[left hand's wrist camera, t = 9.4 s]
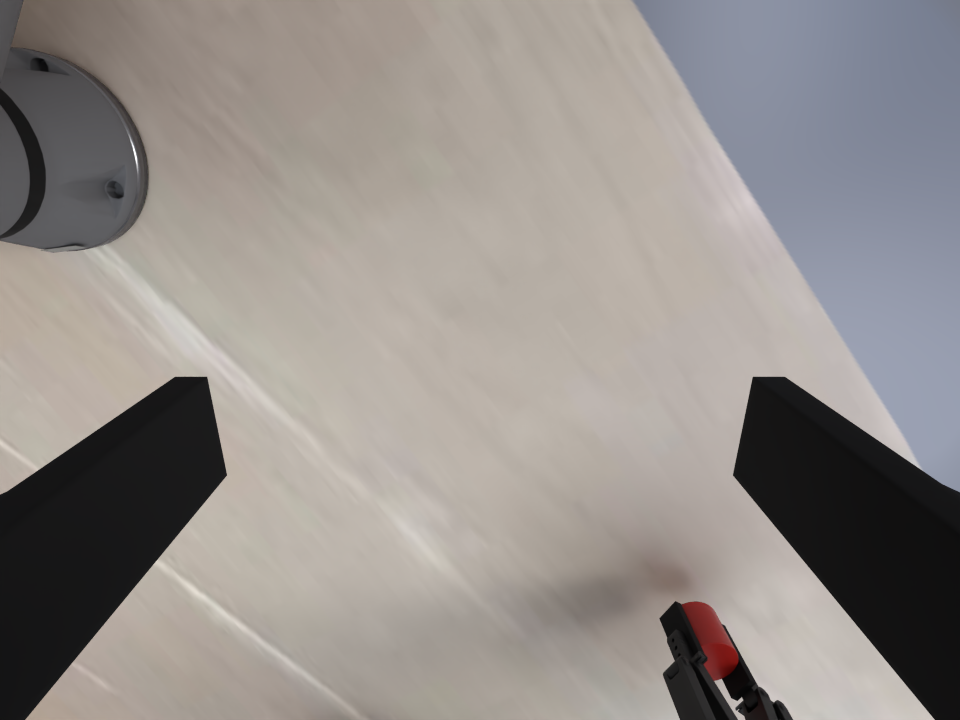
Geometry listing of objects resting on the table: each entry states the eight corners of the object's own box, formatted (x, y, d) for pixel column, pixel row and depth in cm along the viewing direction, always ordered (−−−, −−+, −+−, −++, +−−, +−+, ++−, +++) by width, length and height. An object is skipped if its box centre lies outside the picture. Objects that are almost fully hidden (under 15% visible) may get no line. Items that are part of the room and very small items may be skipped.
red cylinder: (657, 623, 54) (674, 666, 50) (692, 593, 53) (713, 634, 48) (690, 645, 55) (710, 689, 51) (726, 616, 54) (749, 659, 49)
